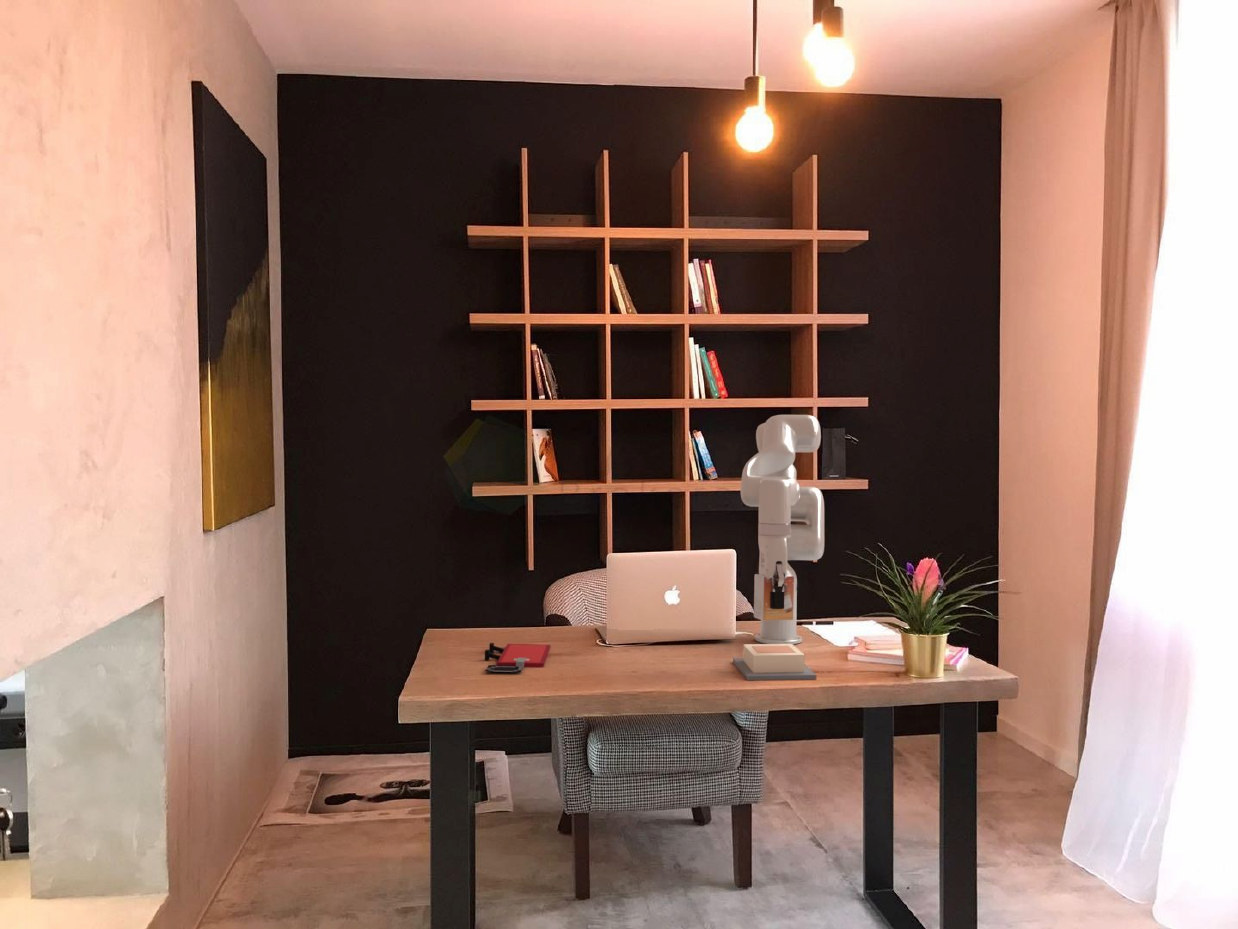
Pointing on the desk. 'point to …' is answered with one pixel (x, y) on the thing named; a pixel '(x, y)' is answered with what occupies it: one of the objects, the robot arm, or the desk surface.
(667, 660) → the desk surface
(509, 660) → the red board with handle
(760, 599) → the small box
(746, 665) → the build board
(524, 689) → the desk surface
